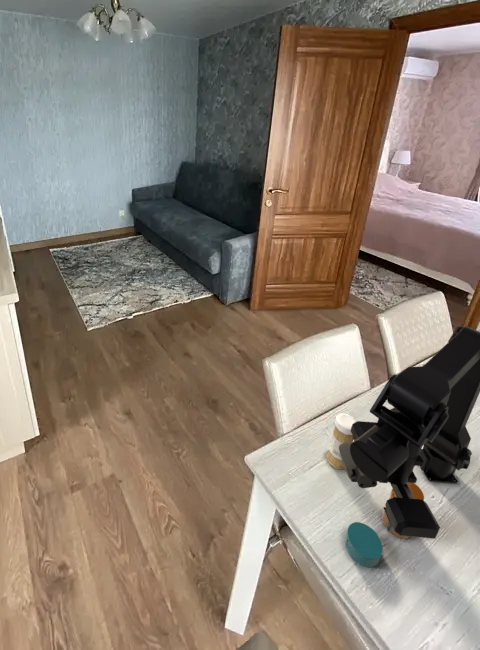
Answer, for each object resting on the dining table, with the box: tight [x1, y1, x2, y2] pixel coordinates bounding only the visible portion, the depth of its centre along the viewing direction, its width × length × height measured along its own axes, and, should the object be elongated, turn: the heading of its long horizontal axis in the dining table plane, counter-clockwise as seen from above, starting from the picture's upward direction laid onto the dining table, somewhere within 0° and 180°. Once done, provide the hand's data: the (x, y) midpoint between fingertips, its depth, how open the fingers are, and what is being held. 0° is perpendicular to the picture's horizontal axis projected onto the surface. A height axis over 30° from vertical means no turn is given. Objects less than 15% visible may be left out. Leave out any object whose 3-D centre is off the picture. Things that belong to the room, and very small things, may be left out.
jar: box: [381, 482, 425, 540], centre depth 69 cm, size 5×5×11 cm
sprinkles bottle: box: [326, 412, 358, 470], centre depth 81 cm, size 5×5×13 cm
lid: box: [344, 521, 384, 568], centre depth 67 cm, size 6×6×3 cm
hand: (378, 502), depth 63 cm, fingers open, 9 cm apart
